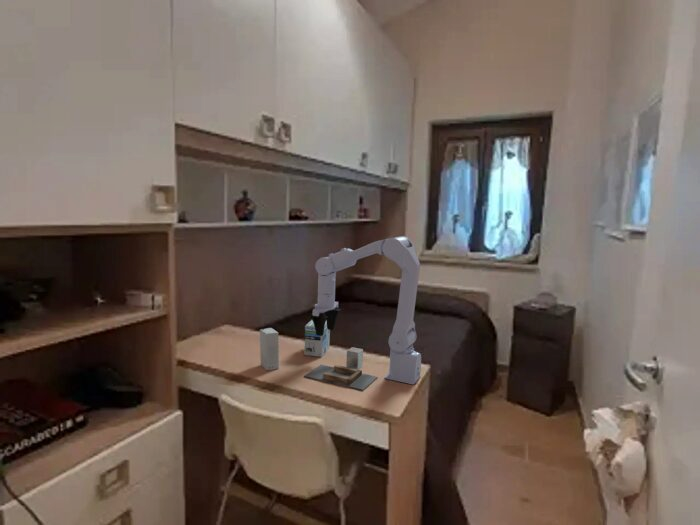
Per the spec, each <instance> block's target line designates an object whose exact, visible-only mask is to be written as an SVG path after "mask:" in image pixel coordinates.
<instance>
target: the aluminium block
mask: <svg viewBox="0 0 700 525" xmlns="http://www.w3.org/2000/svg"><path fill="white" fill-rule="evenodd" d="M363 358H364V349H363V348H357V347H353V346H352V347H350V348H349V349H347V350H346V362H345V363H346V365H345V367H348V368H352V369H357V370H361V368H363V363H364V362H363V360H364V359H363Z"/></svg>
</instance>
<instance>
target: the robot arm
mask: <svg viewBox="0 0 700 525" xmlns="http://www.w3.org/2000/svg"><path fill="white" fill-rule="evenodd" d="M375 254H378V255H380V256H383V255H384V256H385V257H386V258H387V259H389V260H390V261H393V262H394V263H396V265H397V266H398V267H399V268H400V269H401V279H400V285H399V286H400V287H399V296H398V304H397V312H396V318H395V319H396V320H395V322H394V324H393V326H392V327H393V328H392V331H391V333H390V335H389V337H388V346H389V348H390V350H389V351H390V352H389V369H388V370H389V372H388V373H387V374H386V375H385V376H384V379H385V380H386V379H387V380H391V381H395V382H399V383H400V382H401V383H405V384H409V385H415V383H417V381H418V380H419V379H420V378H421V376H422V375H421V369H422V368H421V367H422V354H421V353H420V352H417V351H415V348H414V343H415V342H416V340H417V332H416V323H415V321H414V317H415V309H416V308H415V307H416V303H417V302H416V300H417V293H418V285H419V276H420V268H421V264H420V260H419V257H418V255H417V253H416V251H415V245H414V243H413V242H412V241H410V239H409V238H408V237H406V236H404V235H403V236H402V235H401V236H400V235H399V236H397V237H389V238H386V239H381V240H377V241H376V240H375V241H374V242H371V243H368V244H366V245H363V246H362V247H359V248H357V249H355V250H353V249H351V248H346V247H343V248H340V251H338V252H335V253H329V254H328V256H325V257H324V256H323V257H320V258H319V259H317V260H316V262H315V267H314V268H315V271H316V272H317V274H318V278H317V303H315V304H314V308H313V309H312V313H310V315H309V317H310V319H311V320H312V321H313V323H314V326H315V330H316V334H317V335H319V336H323V333H324V326H325V322H326V320H327V329H328V330H330V331H334V329H335V326H336V322H337V319H338V317H339V315H340V314H341V308H339V301H335V300H336V278H337V272H339V271H342V270H344V269H347V268H350V267H353V266H355V265H356V263H357V260H358V261H359V260H360V259H363V258H365V257H366V258H367V257H369V256H372V255H375ZM323 313H324V314H325V315H324V314H323Z"/></svg>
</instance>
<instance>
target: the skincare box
mask: <svg viewBox="0 0 700 525" xmlns="http://www.w3.org/2000/svg"><path fill="white" fill-rule="evenodd" d="M259 347H260V348H259V350H260V352H259V356H260V366H262V367H263V369H265V370H266V371H273V370H279V366H280V364H279V363H280V360H279V359H280V357H279V352H280V351H279V347H280V346H279V332H278V331H276V330H275V329H274V328H272V327H267V328H261V329H259Z"/></svg>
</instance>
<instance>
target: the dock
mask: <svg viewBox="0 0 700 525" xmlns="http://www.w3.org/2000/svg"><path fill="white" fill-rule="evenodd" d="M362 372H363V370H361V369H359V370H357V369H352V368H348V367H346V366H342V365H338V364H335V365H334V366H328V365H325V364H320V365H318V366H317V367H315V368H313V369H312V370H311V371H308V372H307V373H306V374H304V375H303V378H306V377H307V378H306V379H311V380H315V381H320V382H323V383H328V384H332V385H335V386H336V385H337V386H341V387H345V388H349V389H353V390H358V391H362V392H364V391H365V390H366V389H367V388H369V387H370V385H372V383H374V382H375V381H376V380H378V376H376V375H371V374H366V373H362Z"/></svg>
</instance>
